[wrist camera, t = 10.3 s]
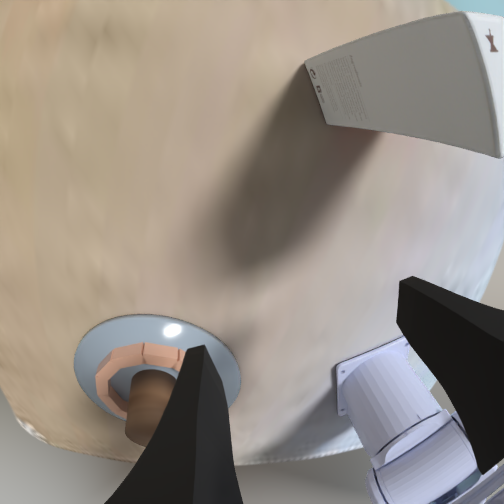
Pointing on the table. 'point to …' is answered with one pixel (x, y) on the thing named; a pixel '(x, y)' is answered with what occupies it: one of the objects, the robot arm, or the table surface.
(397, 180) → the table surface
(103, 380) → the ring dish
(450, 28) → the skincare box
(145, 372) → the brown rounded cylinder
